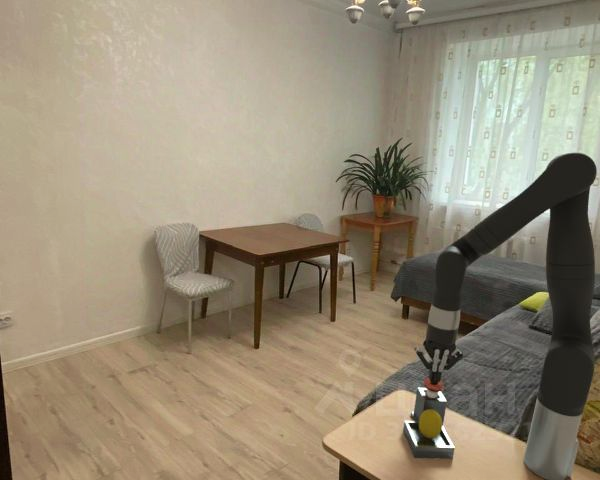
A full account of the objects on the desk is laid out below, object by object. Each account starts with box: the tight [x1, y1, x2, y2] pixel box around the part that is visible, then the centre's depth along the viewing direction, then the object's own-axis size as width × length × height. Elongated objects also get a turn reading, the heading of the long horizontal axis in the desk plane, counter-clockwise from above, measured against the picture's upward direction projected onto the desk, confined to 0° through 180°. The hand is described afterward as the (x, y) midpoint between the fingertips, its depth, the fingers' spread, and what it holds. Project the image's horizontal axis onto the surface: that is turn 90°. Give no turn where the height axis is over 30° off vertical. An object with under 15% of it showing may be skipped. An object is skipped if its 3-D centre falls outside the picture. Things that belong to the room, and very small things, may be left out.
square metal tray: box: [402, 420, 456, 460], centre depth 107 cm, size 10×10×3 cm
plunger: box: [423, 377, 444, 398], centre depth 114 cm, size 5×5×10 cm
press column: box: [410, 386, 448, 431], centre depth 115 cm, size 7×7×9 cm
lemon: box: [419, 409, 442, 438], centre depth 106 cm, size 6×6×8 cm
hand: (433, 382), depth 113 cm, fingers closed
